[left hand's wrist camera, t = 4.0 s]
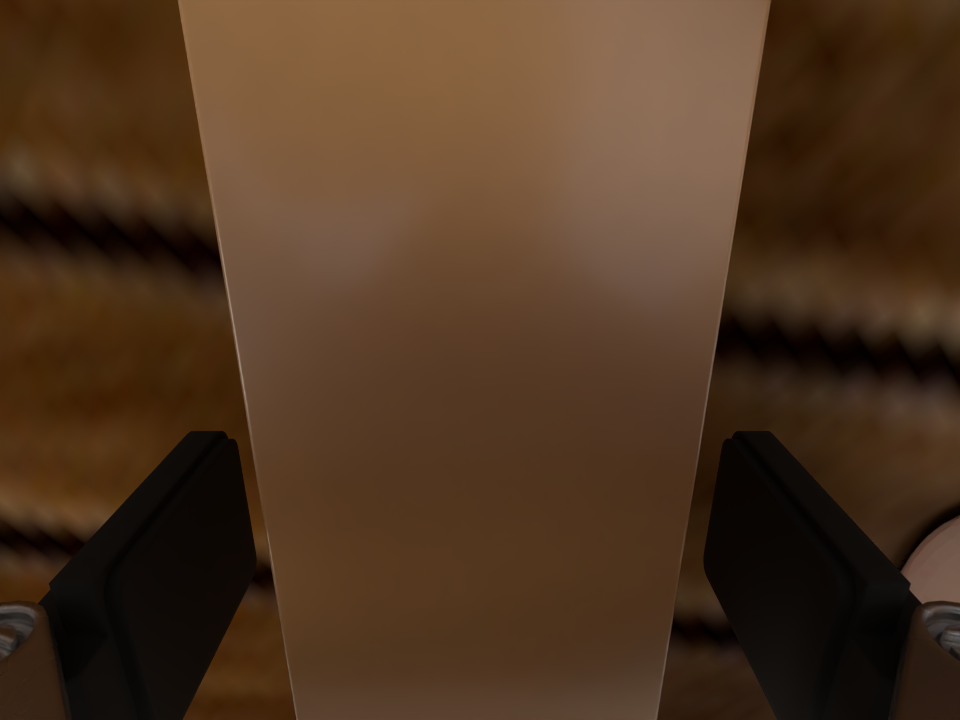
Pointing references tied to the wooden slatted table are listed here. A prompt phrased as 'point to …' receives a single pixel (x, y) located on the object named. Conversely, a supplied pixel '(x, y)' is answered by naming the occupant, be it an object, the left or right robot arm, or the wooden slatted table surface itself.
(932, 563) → the anatomical model
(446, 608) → the bar
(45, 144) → the wooden slatted table surface
